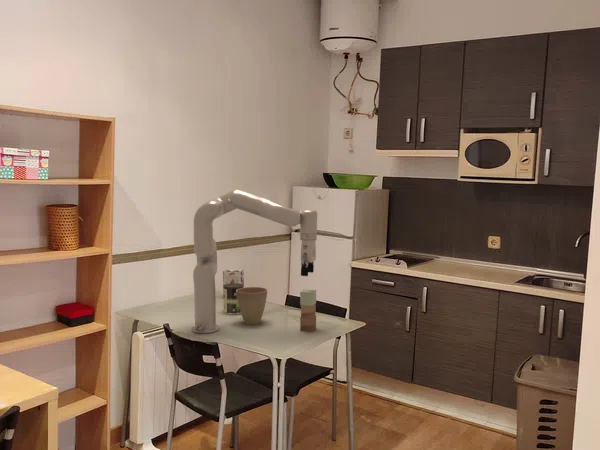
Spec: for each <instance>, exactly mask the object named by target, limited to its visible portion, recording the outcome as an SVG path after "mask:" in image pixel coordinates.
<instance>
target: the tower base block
mask: <svg viewBox="0 0 600 450" xmlns="http://www.w3.org/2000/svg"><path fill="white" fill-rule="evenodd" d="M299 318H300V319H299V325H300V326H299V328H300V329H299V331H300V332H310V333H311V332H313V333H314V331H315V330H316V329H317V315H315V318H314V319H310V318H301V317H299Z"/></svg>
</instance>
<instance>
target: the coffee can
mask: <svg viewBox="0 0 600 450" xmlns="http://www.w3.org/2000/svg"><path fill="white" fill-rule="evenodd" d="M240 288H243V285H242V284H225V285H223V284H222V292H223V294H224V299H223V314H225V315H233V316H234V315H235V316H236V315H242V314H241V311H240V308H239V304H238V299H237V293H236V290H237V289H240ZM223 294H222V295H223Z"/></svg>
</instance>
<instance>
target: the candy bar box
mask: <svg viewBox="0 0 600 450" xmlns="http://www.w3.org/2000/svg"><path fill="white" fill-rule="evenodd" d="M244 275H245V270H244V269H241V268H239V269H238V268H237V269H236V268H233V269H231V268H230V269H229V268H228V269H227V268H225V269H223V270H222V283H223V284H222V286H223V285H225V284H242V285H243V288H245V276H244ZM222 299H223V300H224V294H222Z"/></svg>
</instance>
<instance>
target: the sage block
mask: <svg viewBox="0 0 600 450" xmlns="http://www.w3.org/2000/svg"><path fill="white" fill-rule="evenodd" d="M299 294H300V295H299V298H300V300H299V304H300V306H301V305H308V306H313V305H314V304H317V289H306V288H305V289H302V290H301V291H300V293H299Z"/></svg>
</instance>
